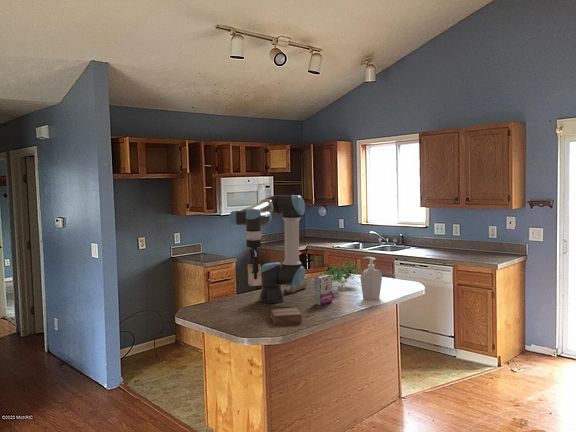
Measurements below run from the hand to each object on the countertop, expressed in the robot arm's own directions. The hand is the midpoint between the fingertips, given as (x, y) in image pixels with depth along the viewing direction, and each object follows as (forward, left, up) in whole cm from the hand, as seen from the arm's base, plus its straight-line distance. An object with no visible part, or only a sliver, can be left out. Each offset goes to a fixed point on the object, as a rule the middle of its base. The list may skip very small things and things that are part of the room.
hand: (254, 283), depth 262 cm
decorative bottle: (-69, +35, -21) cm, 80 cm away
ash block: (0, 0, 0) cm, 0 cm away
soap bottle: (-37, +77, -21) cm, 88 cm away
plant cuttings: (-64, +71, -21) cm, 98 cm away
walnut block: (-3, +17, -21) cm, 27 cm away
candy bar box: (-33, +46, -21) cm, 60 cm away
